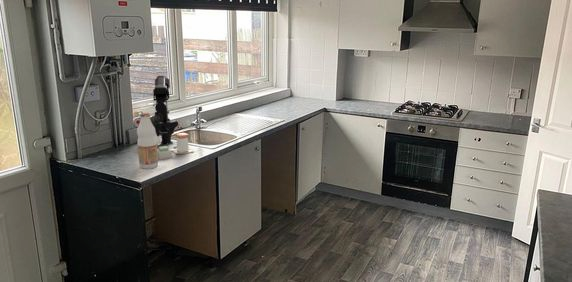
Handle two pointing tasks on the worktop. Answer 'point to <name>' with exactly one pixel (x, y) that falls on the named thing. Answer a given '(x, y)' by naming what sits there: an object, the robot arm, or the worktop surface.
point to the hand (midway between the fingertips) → (163, 137)
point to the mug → (158, 139)
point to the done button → (163, 148)
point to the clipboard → (180, 152)
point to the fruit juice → (147, 143)
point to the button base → (164, 154)
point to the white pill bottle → (182, 142)
